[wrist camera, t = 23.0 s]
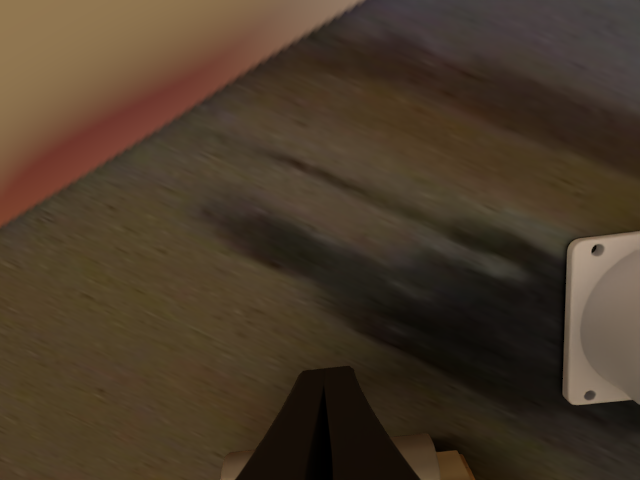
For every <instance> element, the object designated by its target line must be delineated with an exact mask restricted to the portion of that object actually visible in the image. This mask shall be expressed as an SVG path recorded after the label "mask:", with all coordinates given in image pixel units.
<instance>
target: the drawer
mask: <svg viewBox="0 0 640 480" xmlns="http://www.w3.org/2000/svg"><path fill="white" fill-rule="evenodd" d="M390 438H391V440H392V441H393V443H394V444H395V446H396V447H397V448H398V450H399V451H400V453H401V454H402V455H403V457H404V458H405V460H406V461H407V462H408V464H409V465H410V466H411V468H412V469H413V470H414V472H415V473H416V474H417V475H418V477H419V478H420V479H421V480H471V479H470V477H469V474H468V472H467V470H466V468H465V466H464V464H463V462H462V460H461V457H460V455H459V453H458V451H457V450H454V451H444V452H436V450H435V447H434V444H433V442H432V439H431V438H430V436H429V435H428V434H416V435H405V436H395V437H390ZM254 451H255V450H249V451H238V452H230V453H228V454H227V455H226V457H225V459H224V462H223V466H222V471H221V479H220V480H235V479H236V477H237V476H238V475H239V473H240V472H241V470H242V469H243V468H244V466H245V465H246V463H247V462H248V460H249V459H250V457H251V456H252V454H253V453H254Z"/></svg>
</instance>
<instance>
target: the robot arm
mask: <svg viewBox="0 0 640 480" xmlns="http://www.w3.org/2000/svg"><path fill="white" fill-rule="evenodd" d="M595 245H596V250H595V251H594V252H593V253H592V252H591V250H592V248H593V247H594V246H595ZM587 391H588V392H587ZM586 392H587V393H586ZM562 393H563V396H564V398H565V399H566V400H567V401H568V402H569V403H571V404H573V405H583V404H593V403H603V402H614V401H624V400H634V401H635V402H637V403H638V404H639V405H640V231H636V232H628V233H620V234H611V235H603V236H595V237H586V238H579V239H576V240H574V241H573V242H571V243H570V245H569V246H568V250H567V271H566V301H565V331H564V361H563V391H562ZM585 393H586V394H585ZM235 480H421V479H420V478H419V477H418V475H417V474H416V473H415V472H414V470H413V469H412V468H411V466H410V465H409V464H408V462H407V461H406V460H405V458H404V457H403V455H402V454H401V453H400V451H399V450H398V448H397V447H396V446H395V444H394V443H393V441H392V440H391V438H390V437H389V435H388V434H387V433H386V431H385V430H384V428H383V426H382V425H381V423H380V422H379V420H378V418H377V417H376V415H375V413H374V412H373V410H372V409H371V407H370V405H369V403H368V402H367V400H366V398H365V396H364V394H363V392H362V390H361V388H360V386H359V384H358V381H357V379H356V376H355V373H354V369H353V368H351V367H350V366H342V367H333V368H324V369H315V370H306V371H302V372H301V374H300V375H299V377H298V379H297V381H296V383H295V385H294V387H293V389H292V390H291V392H290V394H289V396H288V398H287V400H286V401H285V403H284V405H283V407H282V409H281V410H280V412H279V414H278V415H277V417H276V419H275V420H274V422H273V423H272V425H271V427H270V428H269V430H268V432H267V433H266V435H265V437H264V438H263V440H262V441H261V443H260V444H259V446H258V447H257V448H256V450H255V451H254V453H253V454H252V456H251V457H250V459H249V460H248V462H247V463H246V465H245V466H244V468H243V469H242V470H241V472H240V473H239V475H238V476H237V477H236V479H235Z"/></svg>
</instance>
